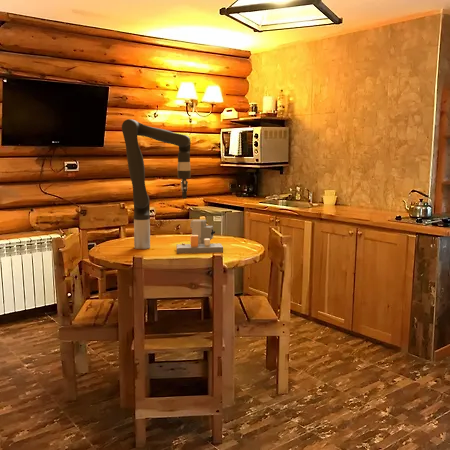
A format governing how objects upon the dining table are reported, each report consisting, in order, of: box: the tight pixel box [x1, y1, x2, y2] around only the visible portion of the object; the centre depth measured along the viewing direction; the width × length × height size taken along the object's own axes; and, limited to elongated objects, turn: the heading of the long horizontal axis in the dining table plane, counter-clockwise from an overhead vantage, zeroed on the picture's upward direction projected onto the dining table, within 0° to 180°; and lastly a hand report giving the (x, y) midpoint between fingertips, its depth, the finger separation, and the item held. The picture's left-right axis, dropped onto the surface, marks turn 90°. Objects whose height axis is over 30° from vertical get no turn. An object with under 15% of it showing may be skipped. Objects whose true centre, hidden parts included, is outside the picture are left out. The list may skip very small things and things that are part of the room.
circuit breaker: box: [189, 219, 216, 244], centre depth 314 cm, size 8×14×15 cm, turn 78°
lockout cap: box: [190, 234, 198, 246], centre depth 294 cm, size 4×4×6 cm
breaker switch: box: [204, 238, 211, 246], centre depth 295 cm, size 3×4×4 cm
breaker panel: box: [176, 242, 224, 254], centre depth 294 cm, size 26×12×4 cm, turn 97°
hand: (184, 197), depth 297 cm, fingers open, 8 cm apart
